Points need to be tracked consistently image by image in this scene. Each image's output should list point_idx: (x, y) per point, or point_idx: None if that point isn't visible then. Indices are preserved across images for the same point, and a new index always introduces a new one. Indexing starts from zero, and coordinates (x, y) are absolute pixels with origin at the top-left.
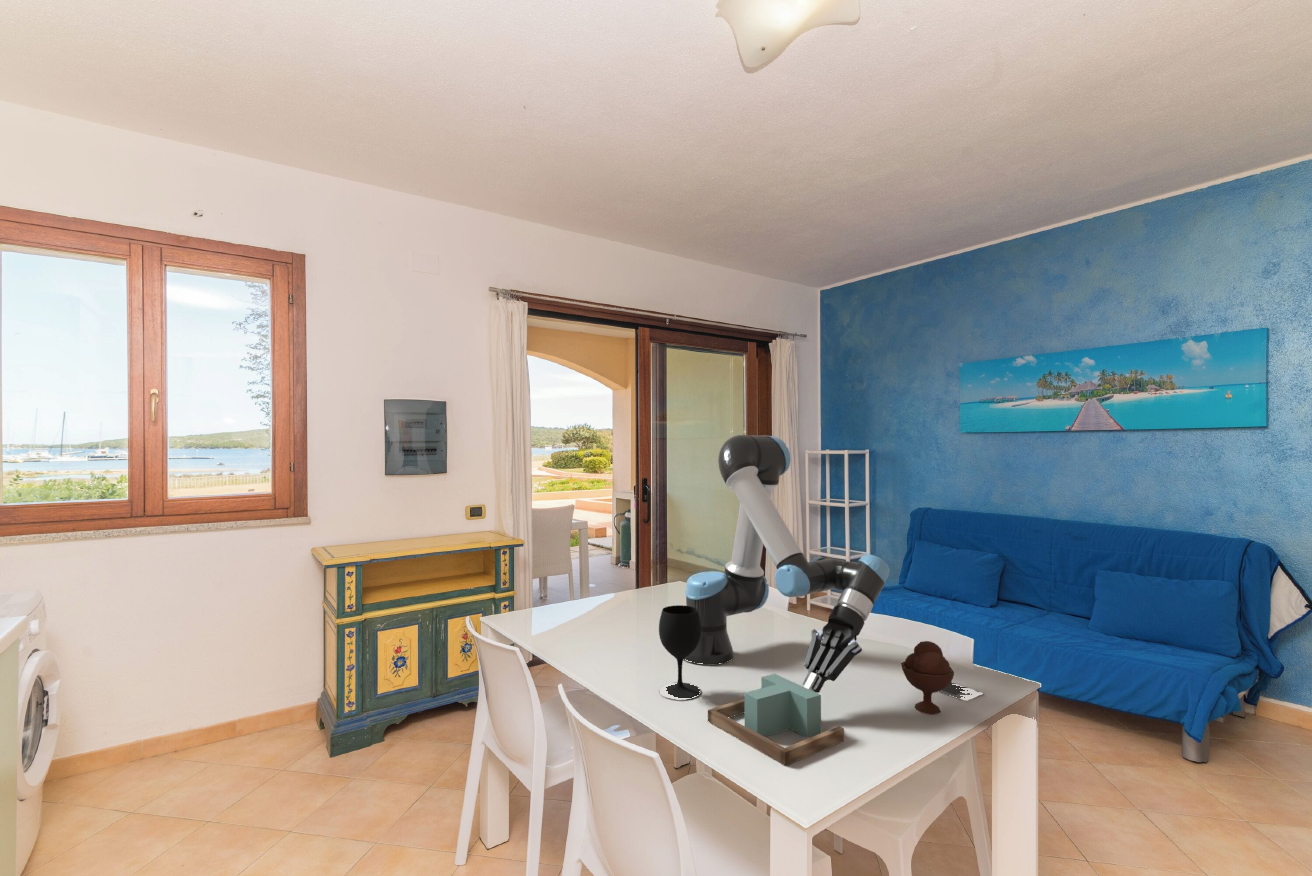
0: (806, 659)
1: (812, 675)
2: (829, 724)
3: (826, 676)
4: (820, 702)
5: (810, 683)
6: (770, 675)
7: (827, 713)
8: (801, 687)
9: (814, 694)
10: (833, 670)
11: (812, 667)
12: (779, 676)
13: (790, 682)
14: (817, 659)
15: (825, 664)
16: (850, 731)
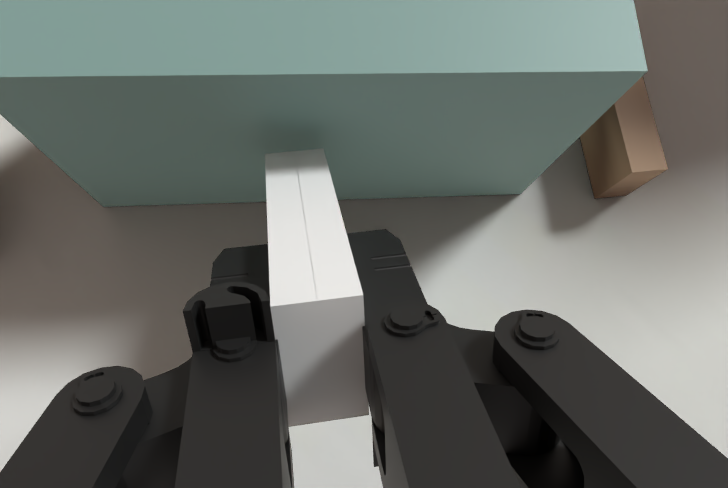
0: (609, 381)
1: (316, 277)
2: (169, 353)
3: (148, 384)
4: (3, 111)
5: (281, 229)
6: (617, 4)
7: (307, 474)
8: (221, 48)
9: (11, 33)
10: (12, 465)
11: (407, 347)
12: (561, 58)
13: (381, 45)
14: (429, 467)
15: (211, 469)
16: (11, 407)
